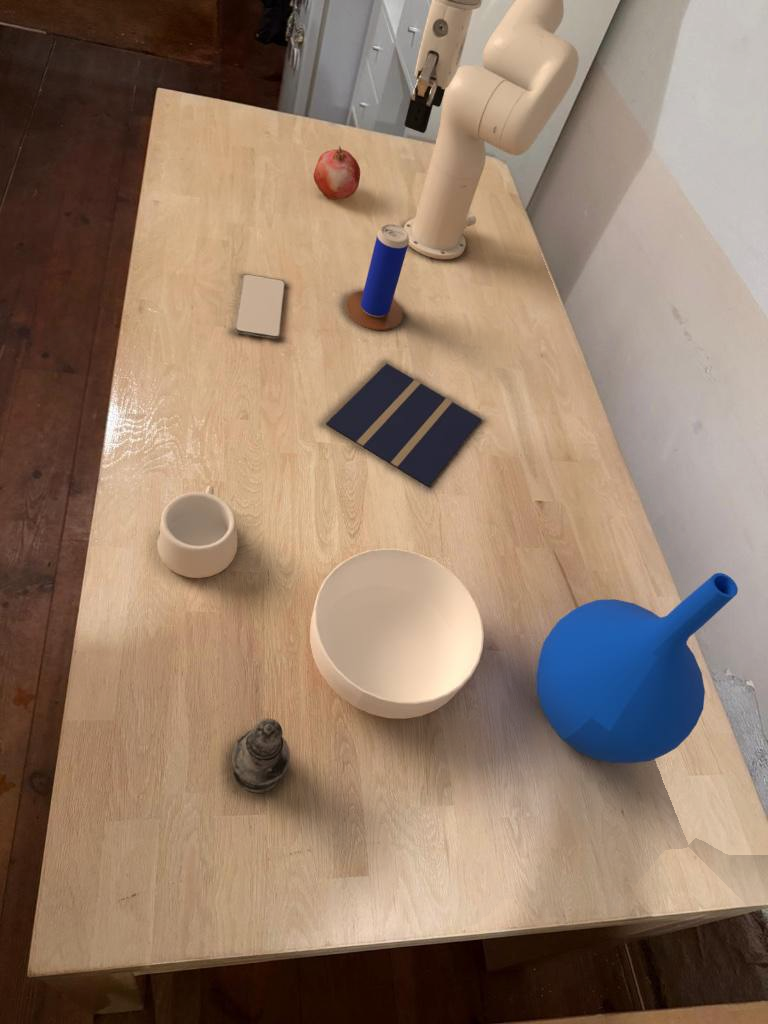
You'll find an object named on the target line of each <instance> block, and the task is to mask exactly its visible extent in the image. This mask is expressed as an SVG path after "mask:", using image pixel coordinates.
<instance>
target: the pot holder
mask: <svg viewBox="0 0 768 1024" xmlns="http://www.w3.org/2000/svg"><path fill="white" fill-rule="evenodd" d="M481 421H482V418H481V417H479V416H477V415H476V414H474V413H472V412H471V411H469V410H467V409H465V408H464V407H462V406H460V405H458V404H457V403H455V402H453V401H452V400H450V399H449V398H446V397H445V396H444V395H441V394H440V393H438V392H436V391H435V390H433V389H431V388H429V387H428V386H426V385H424V384H423V383H422V382H420V381H418V380H417V379H414V378H412V377H411V376H409V375H408V374H406V373H404V372H402V371H401V370H399V369H398V368H396V367H394V366H392V365H391V364H389V363H385V365H384V366H383V367H381V368H380V369H379V371H377V372H376V373H375V374H374V375H373V376H372V377H371V378H370V379H369V380H368V381H367V382H366V383H365V384H364V385H363V386H362V387H361V388H360V389H359V390H358V391H357V392H356V393H355V394H354V395H353V396H352V397H351V398H350V399H349V400H348V401H347V402H346V403H345V404H344V405H343V406H342V407H341V408H340V409H339V410H338V411H337V412H336V413H335V414H334V415H333V416H332V417H331V418H330V419H329V420H328V421H327V422H326V423H325V425H326V426H328V427H329V428H331V429H332V430H334V431H336V432H338V433H339V434H341V435H343V436H344V437H346V438H348V439H349V440H351V441H352V442H354V443H355V444H357V445H359V446H360V447H362V448H363V449H365V450H367V451H368V452H370V453H372V454H374V455H375V456H377V457H379V458H380V459H382V460H383V461H385V462H387V463H388V464H390V465H392V466H393V467H395V468H397V469H398V470H400V471H401V472H403V473H404V474H406V475H408V476H410V477H411V478H413V480H416V481H418V482H419V483H421V484H422V485H424V486H426V487H428V488H429V487H430V486H431V484H432V483H433V482H434V480H435V479H436V478H437V477H438V475H439V474H440V473H441V472H442V470H443V469H444V468H445V467H446V465H447V464H448V462H449V461H450V460H451V459H452V458H453V456H455V454H456V453H457V451H458V450H459V449H460V447H461V446H462V445H463V444H464V442H465V441H466V440H467V438H468V437H469V436H470V435H471V433H472V432H473V431H474V430H475V428H477V426H478V424H479V423H480V422H481Z"/></svg>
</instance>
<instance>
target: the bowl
mask: <svg viewBox="0 0 768 1024" xmlns="http://www.w3.org/2000/svg"><path fill="white" fill-rule="evenodd" d="M309 626H310V627H309V644H310V648H311V649H310V650H311V653H312V657H313V660H314V662H315V665H316V667H317V669H318V672H319V673H320V675H321V676H322V678H323V680H324V681H325V682H326V683H327V685H328V686H329V687H330V688H331V689H332V690H333V691H334V692H335V693H336V694H337V695H338V696H339V697H340V698H341V699H342V700H344V701H346V702H347V703H348V704H350V705H351V706H352V707H354V708H356V709H358V710H361V711H363V712H365V713H368V714H370V715H373V716H377V717H382V718H386V719H402V720H403V719H404V720H405V719H411V718H412V719H413V718H417V717H422V716H425V715H427V714H430V713H432V712H435V711H437V710H438V709H440V708H441V707H443V706H444V705H445V704H448V702H450V701H451V699H453V698H454V697H455V696H456V695H457V694H458V692H459V691H460V690H461V689H462V688H463V687H465V685H466V683H468V681H469V680H470V679H471V677H472V676H473V674H474V672H475V671H476V668H477V667H478V666H479V663H480V660H481V657H482V654H483V651H484V635H485V633H484V627H483V620H482V616H481V614H480V611H479V608H478V605H477V603H476V601H475V600H474V597H473V596H472V594H471V593H470V591H469V589H468V587H466V586H465V584H464V583H463V582H462V581H461V580H460V578H459V577H457V575H455V574H454V573H453V572H451V570H450V569H448V567H446V566H445V565H443V564H441V563H439V562H438V561H436V560H434V559H433V558H430V557H428V556H425V555H423V554H421V553H419V552H414V551H410V550H407V549H402V548H387V547H386V548H376V549H375V548H374V549H369V550H366V551H363V552H359V553H356V554H354V555H351V556H350V557H348V558H346V559H344V560H343V561H341V562H340V563H339V564H338V565H336V566H335V567H334V568H333V569H332V570H331V571H330V572H329V574H328V575H327V576H326V577H325V578H324V580H323V581H322V583H321V586H320V587H319V589H318V591H317V594H316V598H315V601H314V605H313V610H312V614H311V618H310V625H309Z"/></svg>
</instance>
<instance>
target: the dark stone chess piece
mask: <svg viewBox="0 0 768 1024" xmlns="http://www.w3.org/2000/svg"><path fill="white" fill-rule="evenodd" d="M288 745H289V744H288V743H287V741H286V739H285V738H284V736H283V727H282V726H281V724H280V723H279V722H278V721H277V720H276V719H274V718H270V717H268V718H267V717H266V718H263V719H262V718H261V719H260V720H258V721H257V722H256V723H255V724H254V726H253V728H252V729H250V730H248V731H246V732H245V733H243V734H242V735H240V737H239V738H237V740H236V742H235V743H234V746H233V748H232V752H231V753H232V754H231V762H232V774H233V777H234V779H235V781H236V783H237V784H238V786H240V787H241V788H242V789H244V790H245V791H248V792H250V793H256V794H257V793H258V794H260V793H265V792H267V791H269V790H271V789H272V788H274V787H275V786H276V785H277V784H278V782H279V781H280V780H281V778H282V777H283V775H284V774H285V773H286V772H287V769H288V767H289V764H290V759H291V753H290V747H289V746H288Z"/></svg>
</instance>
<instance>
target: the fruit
mask: <svg viewBox="0 0 768 1024" xmlns="http://www.w3.org/2000/svg"><path fill="white" fill-rule="evenodd" d="M313 180H314V183H315V185H316V186H317V188H318V190H319V192H321V194H322V195H323V196H324V197H325V198H327V199H331V200H343V199H347V198H348V199H349V198H350V197H351V196H353V195H354V194H355V193H356V192H357V190H358V188H359V184H360V181H361V168H360V165H359V163H358V161H357V159H356V158H355V157H354V156H353V154H351V153H350V152H349V151H347V150H345V149H342V148H341V145H339V148H338V149H330V150H327V151H325V152H322V154H321V155H320V156H319V157H318V161H317V163H316V165H315V168H314V171H313Z"/></svg>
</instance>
